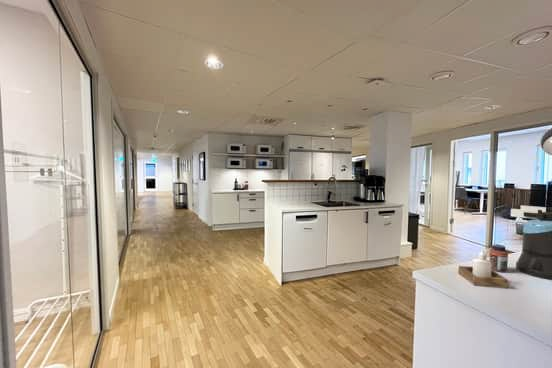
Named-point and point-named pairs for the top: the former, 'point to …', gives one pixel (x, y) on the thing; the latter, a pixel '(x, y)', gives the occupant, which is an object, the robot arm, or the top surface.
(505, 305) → the top surface
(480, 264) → the eye dropper bottle
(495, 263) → the supplement bottle
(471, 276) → the holder
